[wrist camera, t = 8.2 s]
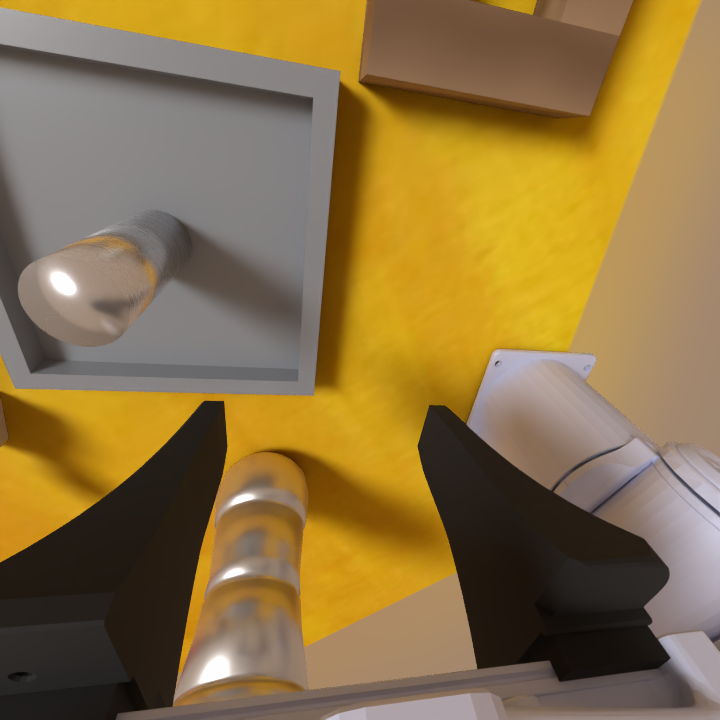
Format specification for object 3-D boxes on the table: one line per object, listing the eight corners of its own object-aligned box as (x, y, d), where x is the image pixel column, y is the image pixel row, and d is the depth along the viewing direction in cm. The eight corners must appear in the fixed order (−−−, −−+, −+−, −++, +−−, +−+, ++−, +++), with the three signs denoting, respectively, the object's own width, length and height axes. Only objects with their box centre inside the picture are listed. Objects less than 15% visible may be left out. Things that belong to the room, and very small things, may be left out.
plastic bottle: (313, 441, 27) (332, 939, 10) (303, 501, 31) (305, 949, 14) (223, 437, 26) (74, 1004, 9) (222, 500, 29) (114, 997, 12)
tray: (312, 377, 24) (313, 395, 23) (38, 368, 21) (15, 388, 20) (336, 78, 16) (340, 71, 14) (-103, -3, 13) (-163, -24, 11)
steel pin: (192, 276, 19) (132, 352, 12) (128, 265, 18) (28, 340, 12) (192, 217, 18) (125, 267, 11) (123, 202, 17) (6, 247, 10)
